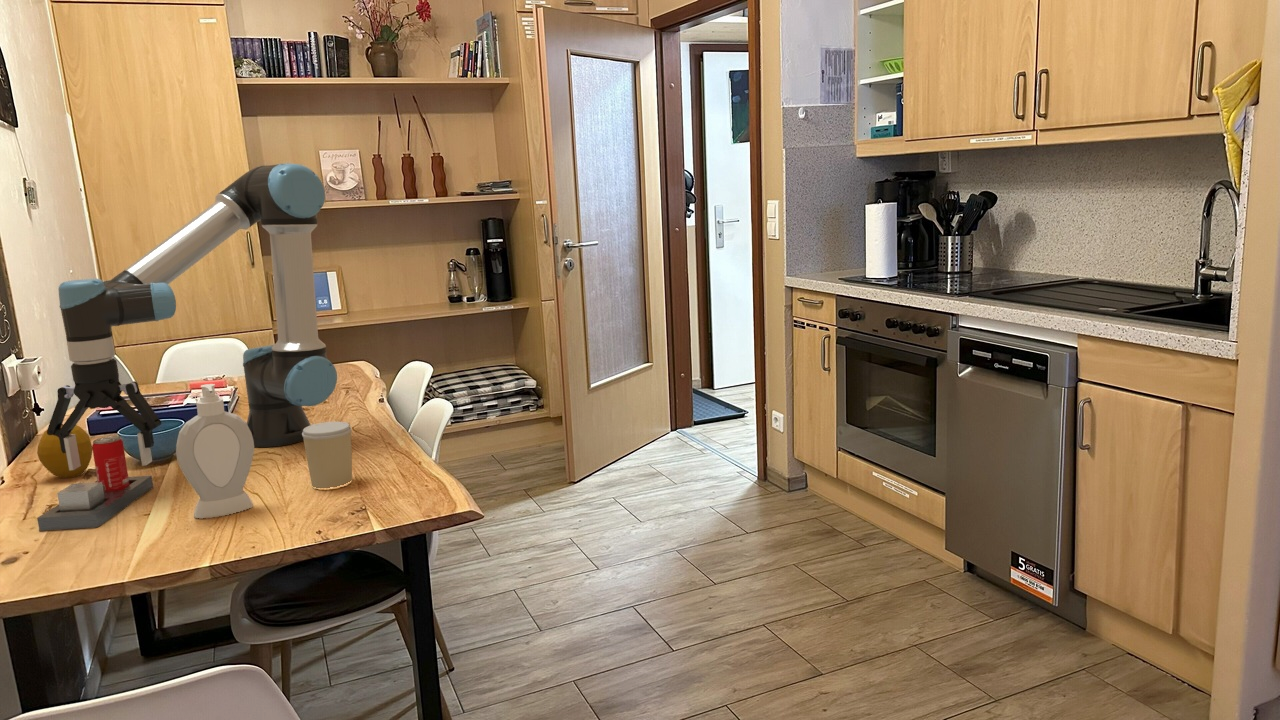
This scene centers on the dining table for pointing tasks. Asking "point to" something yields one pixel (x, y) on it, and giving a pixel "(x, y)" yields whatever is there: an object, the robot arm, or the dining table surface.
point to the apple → (57, 460)
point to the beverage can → (110, 463)
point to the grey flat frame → (91, 504)
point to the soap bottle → (216, 457)
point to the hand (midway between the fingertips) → (111, 466)
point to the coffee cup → (328, 453)
